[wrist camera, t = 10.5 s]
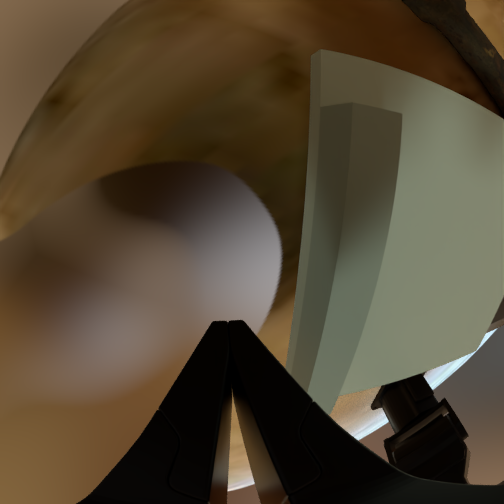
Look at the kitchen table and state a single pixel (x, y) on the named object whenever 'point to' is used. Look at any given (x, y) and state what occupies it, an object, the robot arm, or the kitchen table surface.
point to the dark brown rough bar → (465, 40)
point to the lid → (394, 228)
